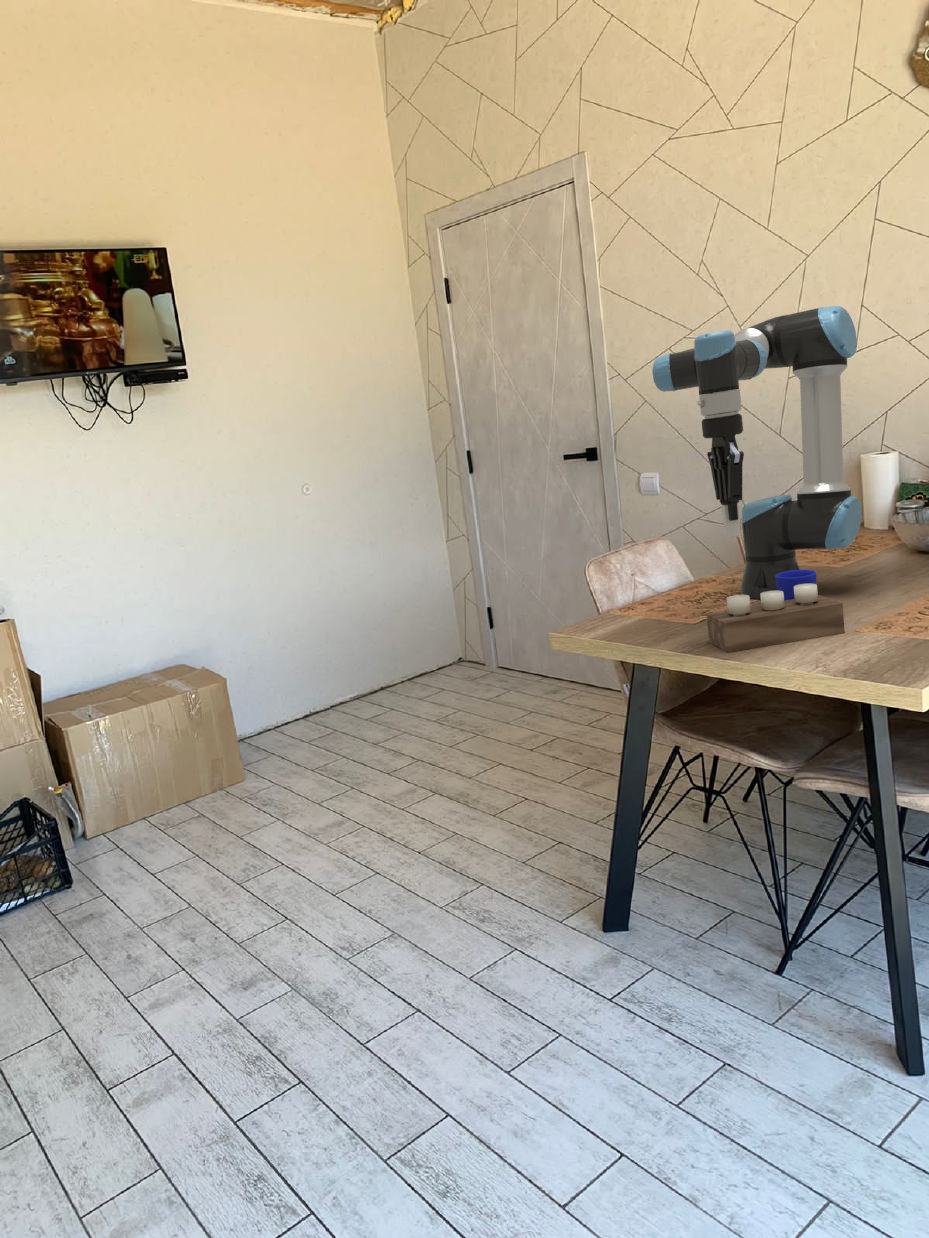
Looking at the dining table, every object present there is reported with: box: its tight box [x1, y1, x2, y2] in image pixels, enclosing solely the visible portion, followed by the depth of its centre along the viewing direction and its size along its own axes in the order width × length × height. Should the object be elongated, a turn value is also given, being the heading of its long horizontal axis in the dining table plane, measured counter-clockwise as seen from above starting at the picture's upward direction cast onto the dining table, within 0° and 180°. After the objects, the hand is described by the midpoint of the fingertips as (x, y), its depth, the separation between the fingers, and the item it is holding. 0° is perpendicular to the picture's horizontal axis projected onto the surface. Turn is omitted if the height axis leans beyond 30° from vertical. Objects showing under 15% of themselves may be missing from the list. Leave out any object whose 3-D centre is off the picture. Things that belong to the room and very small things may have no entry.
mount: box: [706, 594, 845, 653], centre depth 188 cm, size 10×24×6 cm, turn 96°
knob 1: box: [726, 594, 751, 617], centre depth 187 cm, size 4×4×9 cm
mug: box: [775, 569, 817, 601], centre depth 201 cm, size 8×12×10 cm
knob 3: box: [794, 583, 819, 606], centre depth 188 cm, size 4×4×9 cm
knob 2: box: [760, 591, 785, 611], centre depth 188 cm, size 4×4×9 cm
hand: (732, 536), depth 184 cm, fingers closed
